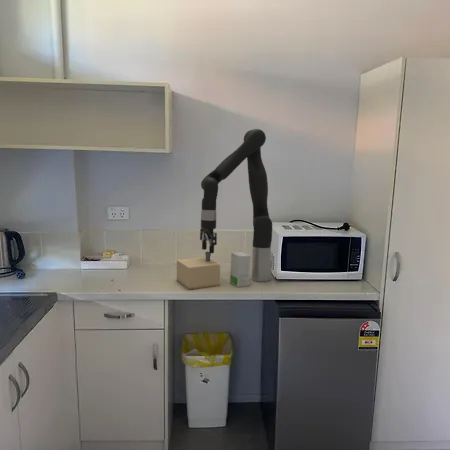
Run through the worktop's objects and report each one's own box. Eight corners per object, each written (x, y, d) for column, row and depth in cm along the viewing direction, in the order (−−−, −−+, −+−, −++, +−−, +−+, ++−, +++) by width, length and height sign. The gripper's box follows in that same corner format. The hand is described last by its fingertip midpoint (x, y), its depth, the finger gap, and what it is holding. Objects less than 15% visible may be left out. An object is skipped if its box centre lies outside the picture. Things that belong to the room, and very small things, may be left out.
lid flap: (205, 258, 210) (205, 248, 210) (219, 265, 197) (219, 255, 196) (176, 261, 203) (176, 251, 202) (189, 269, 189) (189, 258, 189)
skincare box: (229, 282, 203) (230, 252, 201) (241, 281, 206) (242, 251, 204) (238, 287, 196) (238, 255, 193) (249, 285, 199) (250, 254, 196)
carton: (205, 276, 212) (206, 258, 211) (219, 285, 198) (220, 265, 197) (176, 280, 205) (176, 261, 203) (189, 289, 191) (189, 269, 189)
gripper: (222, 220, 194) (221, 253, 197) (209, 216, 207) (208, 247, 209) (207, 221, 191) (206, 255, 194) (195, 216, 203) (195, 248, 206)
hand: (207, 251), depth 202 cm, fingers open, 8 cm apart
